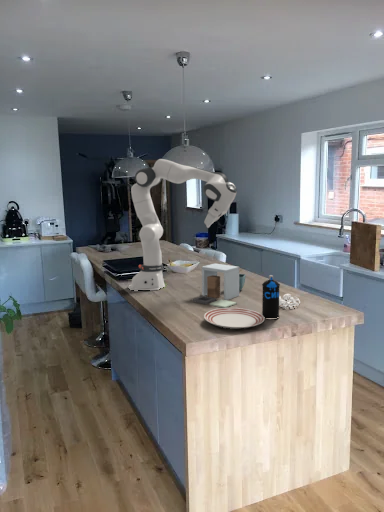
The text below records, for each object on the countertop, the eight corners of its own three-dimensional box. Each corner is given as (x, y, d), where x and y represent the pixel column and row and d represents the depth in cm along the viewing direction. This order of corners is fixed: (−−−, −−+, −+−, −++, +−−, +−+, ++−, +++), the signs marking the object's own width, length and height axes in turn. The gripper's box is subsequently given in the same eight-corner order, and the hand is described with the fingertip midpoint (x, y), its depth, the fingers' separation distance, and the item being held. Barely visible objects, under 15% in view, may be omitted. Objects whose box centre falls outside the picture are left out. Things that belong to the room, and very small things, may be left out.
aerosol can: (259, 314, 208) (260, 274, 204) (276, 314, 208) (277, 273, 205) (264, 320, 200) (264, 277, 196) (281, 319, 200) (282, 277, 197)
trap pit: (205, 304, 227) (205, 302, 227) (192, 301, 233) (192, 299, 233) (216, 300, 233) (216, 298, 233) (203, 297, 239) (203, 295, 239)
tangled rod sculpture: (304, 312, 215) (305, 304, 214) (275, 310, 215) (276, 302, 214) (296, 300, 234) (297, 293, 233) (269, 298, 234) (270, 291, 233)
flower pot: (245, 288, 257) (245, 274, 256) (242, 292, 249) (242, 277, 248) (231, 287, 260) (231, 273, 259) (227, 291, 252) (227, 276, 250)
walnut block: (214, 299, 236) (214, 278, 233) (207, 298, 239) (207, 276, 237) (220, 297, 239) (220, 276, 237) (213, 296, 242) (213, 275, 240)
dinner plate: (266, 315, 208) (266, 308, 207) (262, 335, 181) (262, 327, 181) (210, 312, 214) (209, 305, 213) (198, 331, 187) (198, 323, 187)
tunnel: (226, 300, 233) (226, 270, 231) (202, 295, 245) (201, 266, 242) (239, 295, 242) (239, 266, 239) (215, 291, 253) (215, 263, 250)
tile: (225, 308, 219) (225, 306, 219) (209, 304, 226) (209, 303, 225) (236, 303, 226) (236, 302, 226) (221, 300, 233) (221, 299, 233)
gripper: (225, 196, 256) (216, 212, 265) (207, 211, 242) (198, 227, 252) (233, 203, 254) (224, 219, 264) (216, 217, 241) (207, 234, 250)
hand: (211, 223), depth 258 cm, fingers open, 8 cm apart
